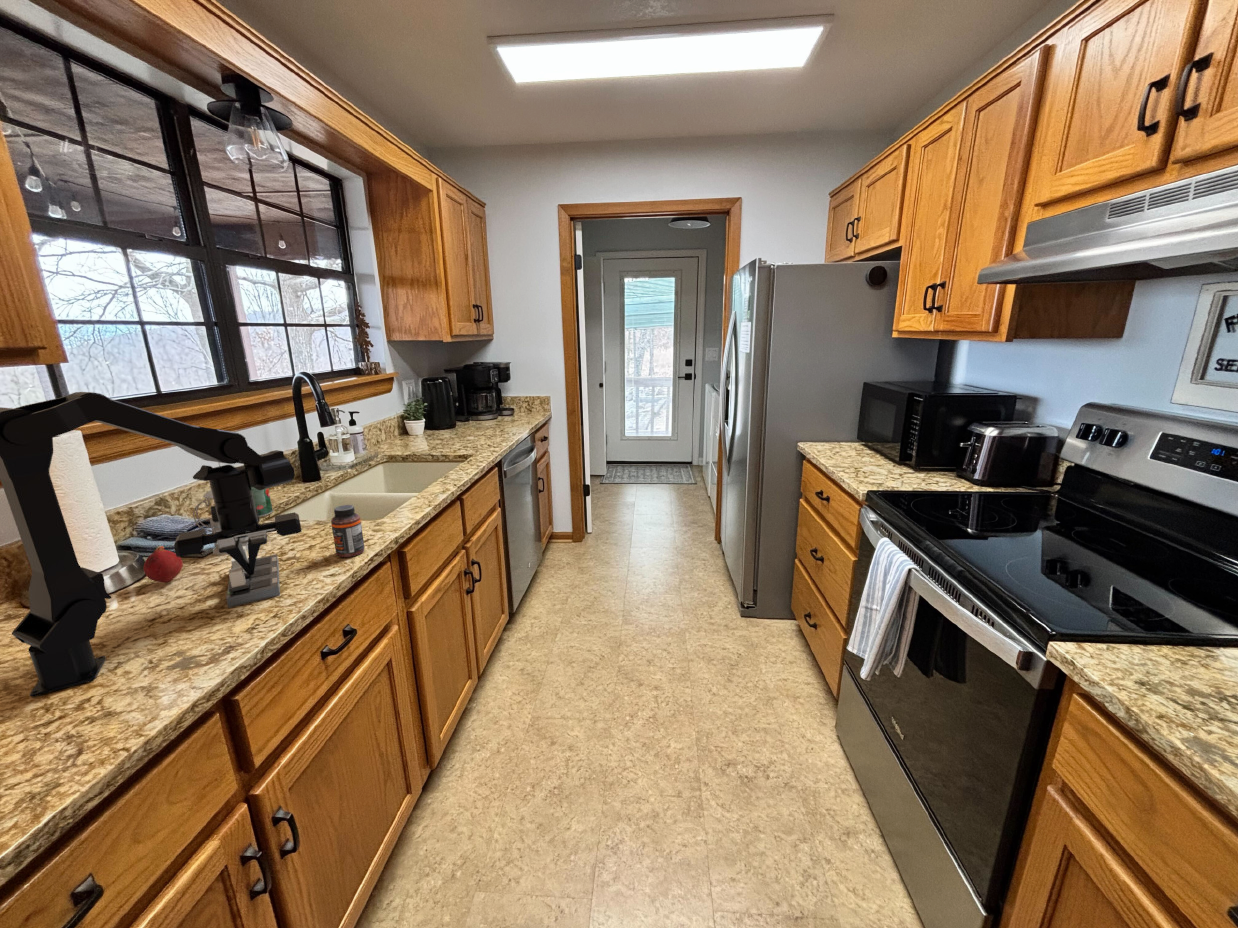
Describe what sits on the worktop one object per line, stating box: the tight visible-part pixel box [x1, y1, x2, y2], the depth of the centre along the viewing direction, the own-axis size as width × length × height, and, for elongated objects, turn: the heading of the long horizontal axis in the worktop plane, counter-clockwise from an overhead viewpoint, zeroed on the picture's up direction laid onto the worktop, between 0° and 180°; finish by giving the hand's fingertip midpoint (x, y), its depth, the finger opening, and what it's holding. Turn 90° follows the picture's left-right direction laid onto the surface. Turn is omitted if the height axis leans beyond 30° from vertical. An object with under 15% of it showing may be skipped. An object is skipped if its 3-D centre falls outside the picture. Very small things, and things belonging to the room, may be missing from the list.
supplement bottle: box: [330, 504, 365, 559], centre depth 114 cm, size 6×6×11 cm
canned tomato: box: [251, 487, 274, 518], centre depth 141 cm, size 8×8×11 cm
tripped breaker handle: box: [227, 567, 249, 592], centre depth 94 cm, size 3×3×4 cm
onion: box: [143, 545, 184, 584], centre depth 101 cm, size 6×6×8 cm
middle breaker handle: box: [230, 557, 250, 577], centre depth 99 cm, size 3×3×4 cm
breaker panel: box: [226, 553, 281, 609], centre depth 101 cm, size 18×8×2 cm, turn 35°
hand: (251, 574), depth 95 cm, fingers closed
